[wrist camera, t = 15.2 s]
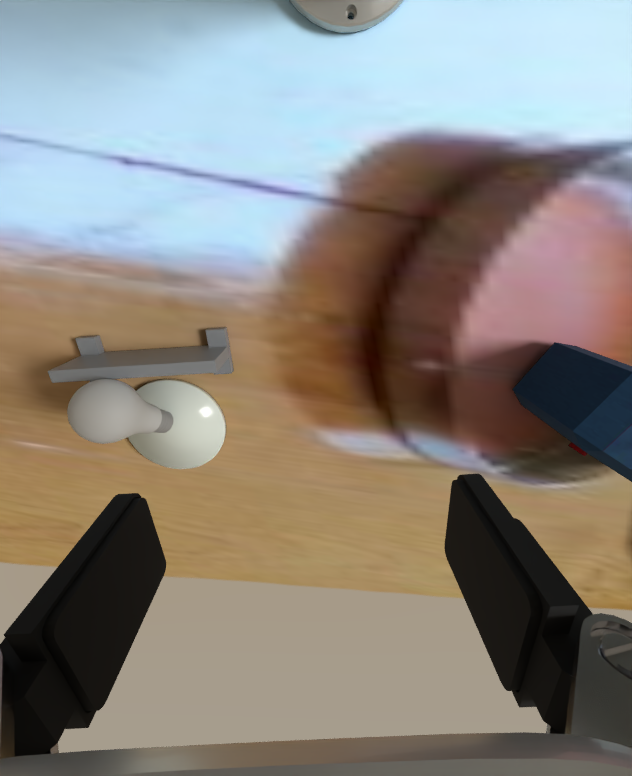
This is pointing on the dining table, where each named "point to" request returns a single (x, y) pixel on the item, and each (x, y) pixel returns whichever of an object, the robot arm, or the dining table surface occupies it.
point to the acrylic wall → (146, 360)
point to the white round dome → (182, 425)
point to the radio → (583, 402)
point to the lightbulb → (114, 412)
